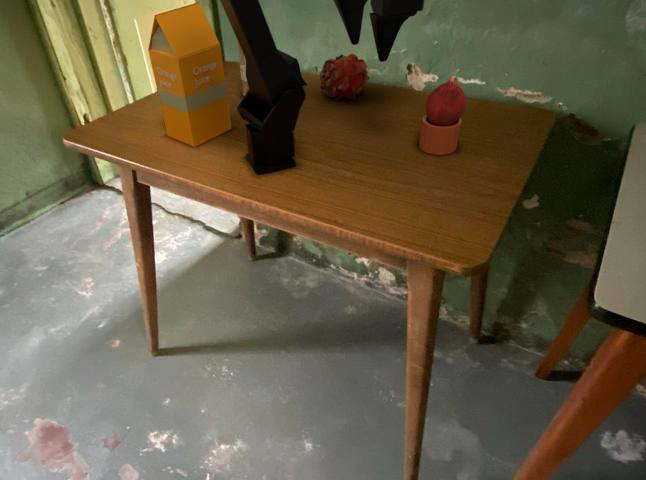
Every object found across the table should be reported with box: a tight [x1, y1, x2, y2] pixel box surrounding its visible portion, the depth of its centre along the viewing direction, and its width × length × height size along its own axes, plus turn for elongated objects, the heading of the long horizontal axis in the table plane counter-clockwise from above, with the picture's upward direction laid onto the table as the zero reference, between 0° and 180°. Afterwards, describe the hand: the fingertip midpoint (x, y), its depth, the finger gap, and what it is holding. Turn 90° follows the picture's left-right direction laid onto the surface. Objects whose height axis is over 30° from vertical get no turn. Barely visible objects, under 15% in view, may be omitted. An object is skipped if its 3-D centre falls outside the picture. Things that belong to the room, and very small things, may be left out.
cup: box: [418, 114, 463, 156], centre depth 77 cm, size 6×6×4 cm
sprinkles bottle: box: [237, 41, 249, 97], centre depth 95 cm, size 5×5×13 cm
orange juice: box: [147, 1, 232, 148], centre depth 81 cm, size 8×9×20 cm
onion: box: [425, 75, 467, 127], centre depth 74 cm, size 6×6×8 cm
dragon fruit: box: [319, 53, 370, 101], centre depth 94 cm, size 8×8×12 cm
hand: (368, 52), depth 75 cm, fingers open, 9 cm apart
